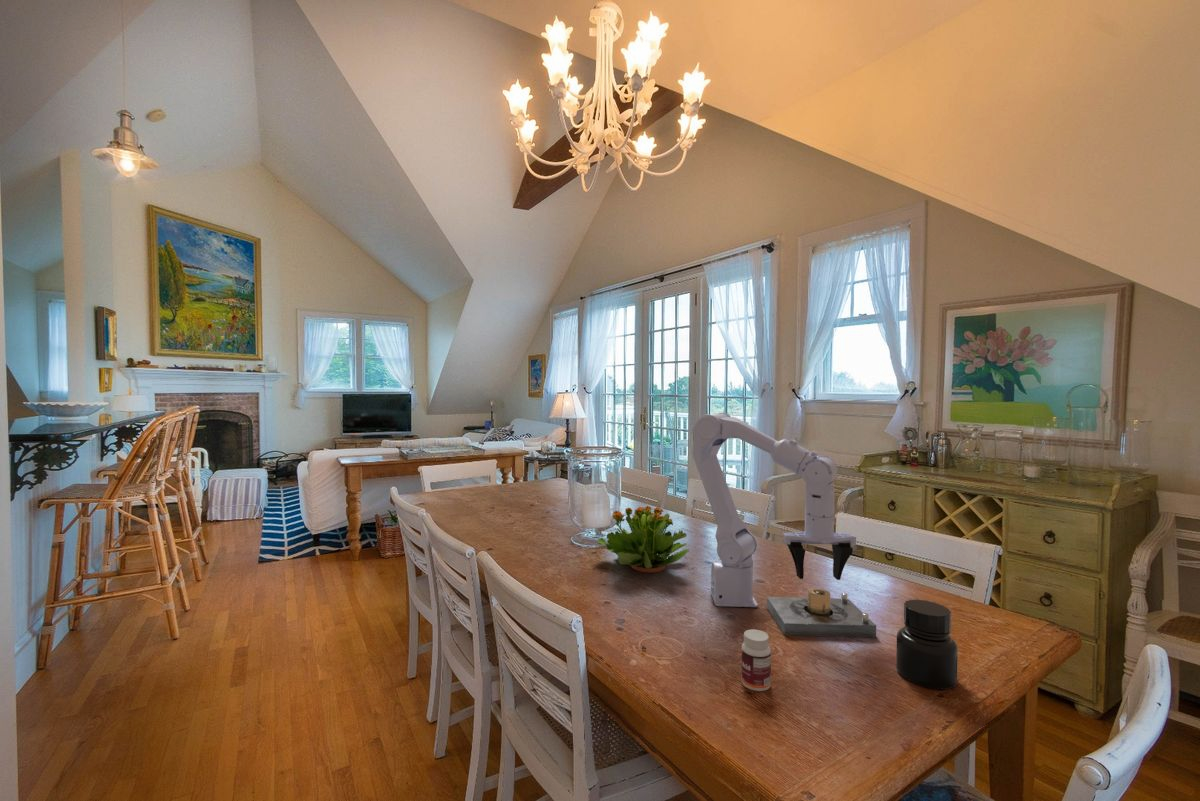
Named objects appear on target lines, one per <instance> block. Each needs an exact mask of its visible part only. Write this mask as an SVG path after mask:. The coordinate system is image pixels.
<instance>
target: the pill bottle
mask: <svg viewBox="0 0 1200 801" xmlns="http://www.w3.org/2000/svg"><path fill="white" fill-rule="evenodd" d="M769 645H770V636H769V634H768V633H767V632H765V631H763V630H759V629H755V628H754V629H750V628H749V629H748V630H745V631H744V633H743V643H742V644H741V651H740V652H741V659H740V660H741V661H740V663H741V664H740V667H741V668H740V675H741V676H740V677H741V678H740V679H741V680H740V681H741V684H742V685H743V686H744V687H745V688H747V689H748V690H751V691H755V692H765V691H767V690H769V689H770V687H771V683H772V682H771V681H772V680H771V679H772V678H771V676H772V674H771V673H772V671H771V670H772V668H771V667H772V649H771V647H770V646H769Z"/></svg>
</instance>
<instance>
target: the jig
mask: <svg viewBox="0 0 1200 801" xmlns="http://www.w3.org/2000/svg"><path fill="white" fill-rule="evenodd" d="M840 595H841V597H840V598H835V597H834V598H831V597H830V616H827V617H824V616H816V615H811V614H809V613H807V612H808V597H789V596H786V597H782V596H778V597H777V596H767V597H766V608H767V610H768V611H769V613H770V614H771V616H772V618H773V620H774V621H775V623H776V625H777V626H778V628H779V629H780V630H781V633H782V634H783V635H784V636H802V637H803V636H806V637H809V636H810V637H835V638H837V637H840V638H841V637H843V638H845V637H846V638H872V639H873V638H877V624H876V623H874V622H873V621H872V620H871V619H870V618H869V617H870V616H869V613H866V612H863V611H862V610H861V609H859V607H857V605H856V604H854V603H853V602H852V601H851V599H849V598H848V594H847V593H845V592H844V593H843V592H842V593H841V594H840Z"/></svg>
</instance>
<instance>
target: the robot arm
mask: <svg viewBox="0 0 1200 801" xmlns="http://www.w3.org/2000/svg"><path fill="white" fill-rule="evenodd" d="M691 431H692V433H693V440H692V442H693V443H692V451H691V454H692V457H693V460H694V463H695V465H696V469H697V471H698V472H697V473H699V477H700V479H701V484H702V486H703V488H704V491H705V494H706V497H707V499H708V502H709V506H710V509H711V511H712V513H713V516H714V520H715V522H716V526H717V527H716V530H715V536H714V537H715V539H716V543H717V544H716V545H717V546H716V554H717V556H718V557H719V561H713V562H711V566H710V567H711V570H710V576H711V577H710V595H711V597H712V599H713V602H714V604H715V606H717V607H735V608H736V607H739V608H742V607H744V608H758V607H759V604H758V602H757V601H756V599H755V598H754V586H753V585H754V560H753V555H754V554H755V553H756V551H757V548H758V543H757V540H756V539H757V538H755V535H754V534H753V533H751V531H750V529H749V528H748V526H747V525H748V524H747V523H746V522H744V520H742V519H741V518H740V516H739V513H738V510H737V507H736V504H735V502H734V499H733V497H732V494H731V491H730V489H729V486H728V484H727V481H726V478H725V475H724V473H723V470H722V467H721V463H720V462H719V459H718V457H717V456H718V453H719V451H720V449H721V447H722V445H723V444H725V442H726V441H727V440H729V439H739V440H742V441H743V442H745V443H747V444H749V445H752V446H753V447H755V448H758V449H759V450H762V451H764V452H766V453H768V454H770V457H771V459H772V461H773V462H774V463H775V464H777V465H779V466H781V467H782V468H784V469H787V471H790V472H792V473H793V474H796V475H797V476H799V477H801V476H802V479H803V481H804V482H805V492H804V504H805V505H804V531H797V532H796V531H794V532H782V543H784V545H787V547H788V550H789V552H790V555H791V557H792V559H793V563H794V568H795V573H796V577H797V578H799V579H800V580H804V574H805V573H804V571H805V570H804V567H805V566H804V562H805V554H806V549H804V545H831V549H832V558H833V560H832V561H833V562H832V577H833V578H834V579H835V580H837V581H841V578H842V574H843V572H844V568H845V566H846V563H847V561H848V560H849V558H850V557H851V555H852V554H853V551H854V550H853V547H855V546H857V536H855V535H854V534H852V533H841V532H835V495H836V494H835V482H834V480H835V479H836V477H837V475H838V466H837V464H836V463H835V461H834V460H833V459H831V458H830V457H829V456H827V455H818V454H819V452H817V451H815V450H812V451H811V450H808V449H806V447H805V448H804V447H803V446H801V445H799V444H797V443H798V440H795V439H787V438H783V439H780V440H777V439H775V438H773V437H771V436H769V435H768V434H766V433H764V432H763V431H760V430H759V429H757V428H756V427H754V426H752V425H750V424H748V423H747V422H745V421H743V420H741V419H740V418H738V417H736V416H731V415H730V414H728V413H725V412H720V413H713V414H703V415H701V416H699V417H698V419H697V420H696V422H695V423H694V424H693V426H692V429H691ZM852 546H853V547H852Z"/></svg>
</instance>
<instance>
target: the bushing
mask: <svg viewBox="0 0 1200 801" xmlns="http://www.w3.org/2000/svg"><path fill="white" fill-rule="evenodd" d="M807 598H808V612H807V613H809V614H811V615H816V616H824V617H827V616H830V598H831V592H830V591H829V590H826V589H824V588H819V587H811V588H808V589H807Z"/></svg>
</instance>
